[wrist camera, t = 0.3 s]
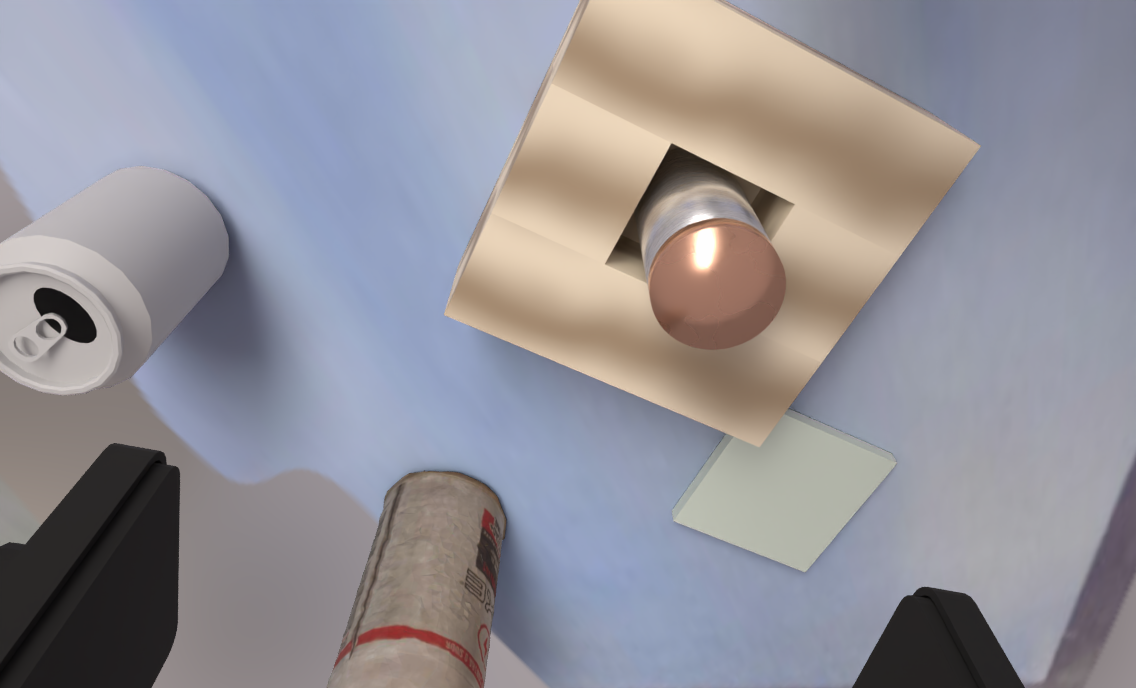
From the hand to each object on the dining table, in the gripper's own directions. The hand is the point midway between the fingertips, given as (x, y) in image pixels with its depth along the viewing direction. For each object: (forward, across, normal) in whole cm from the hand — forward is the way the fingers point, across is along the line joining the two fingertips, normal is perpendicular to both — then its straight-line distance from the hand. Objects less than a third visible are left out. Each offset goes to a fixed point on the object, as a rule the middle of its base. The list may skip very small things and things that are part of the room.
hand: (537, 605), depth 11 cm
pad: (+35, -19, +21) cm, 45 cm away
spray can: (+35, +1, +29) cm, 45 cm away
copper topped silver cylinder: (+34, -8, +4) cm, 35 cm away
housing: (+35, -8, +4) cm, 36 cm away
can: (+35, +19, +12) cm, 42 cm away
